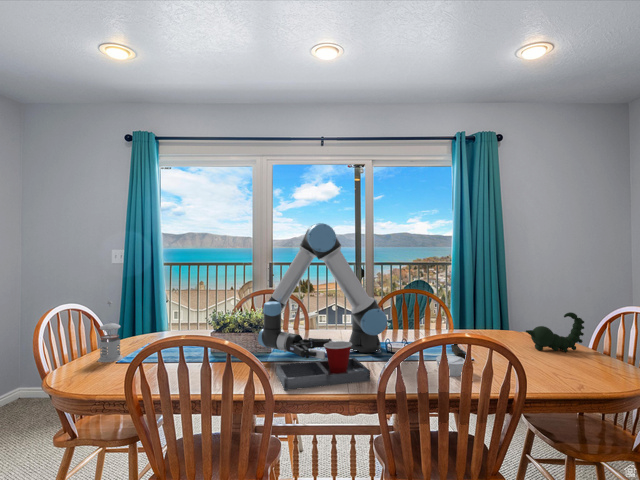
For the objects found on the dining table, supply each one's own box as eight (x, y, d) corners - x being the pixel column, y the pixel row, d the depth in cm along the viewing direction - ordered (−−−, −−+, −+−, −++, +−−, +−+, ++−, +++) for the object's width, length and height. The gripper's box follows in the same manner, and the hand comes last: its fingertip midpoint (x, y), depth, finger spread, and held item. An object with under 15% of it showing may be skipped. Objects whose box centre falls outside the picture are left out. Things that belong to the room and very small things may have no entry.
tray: (354, 367, 167) (354, 357, 167) (370, 381, 151) (370, 370, 151) (276, 374, 158) (276, 364, 158) (284, 390, 143) (284, 379, 143)
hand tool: (466, 362, 174) (466, 351, 174) (456, 361, 175) (456, 350, 175) (458, 349, 193) (458, 339, 193) (449, 349, 194) (449, 339, 194)
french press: (100, 363, 171) (100, 303, 171) (93, 357, 180) (93, 300, 179) (126, 359, 178) (125, 301, 177) (118, 353, 186) (117, 297, 186)
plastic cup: (337, 368, 164) (337, 337, 163) (358, 375, 156) (358, 343, 155) (317, 374, 156) (317, 343, 156) (337, 382, 148) (337, 349, 148)
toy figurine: (573, 351, 195) (519, 345, 196) (577, 311, 194) (523, 306, 196) (585, 357, 185) (528, 351, 187) (589, 315, 185) (532, 310, 186)
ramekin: (467, 379, 154) (467, 365, 154) (435, 376, 157) (436, 362, 157) (465, 369, 165) (465, 356, 165) (436, 366, 168) (436, 353, 168)
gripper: (307, 344, 181) (350, 352, 169) (270, 359, 160) (315, 369, 148) (307, 327, 180) (350, 334, 169) (270, 340, 160) (315, 349, 148)
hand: (334, 351), depth 158 cm, fingers open, 13 cm apart
